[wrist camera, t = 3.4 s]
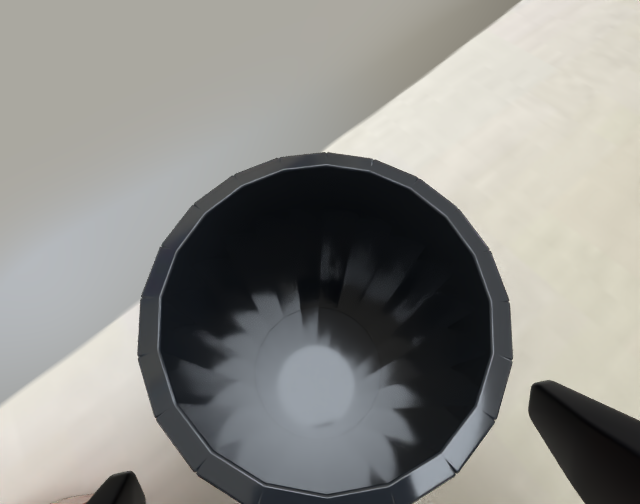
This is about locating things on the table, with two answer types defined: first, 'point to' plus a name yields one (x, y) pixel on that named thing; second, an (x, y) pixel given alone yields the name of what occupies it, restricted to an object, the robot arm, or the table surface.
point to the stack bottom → (75, 500)
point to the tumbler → (325, 334)
